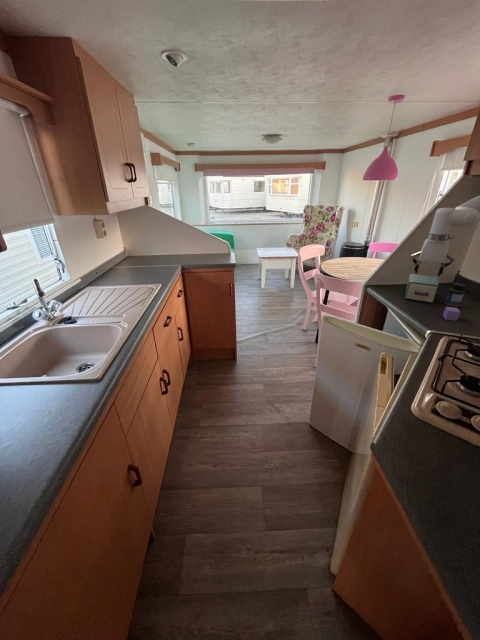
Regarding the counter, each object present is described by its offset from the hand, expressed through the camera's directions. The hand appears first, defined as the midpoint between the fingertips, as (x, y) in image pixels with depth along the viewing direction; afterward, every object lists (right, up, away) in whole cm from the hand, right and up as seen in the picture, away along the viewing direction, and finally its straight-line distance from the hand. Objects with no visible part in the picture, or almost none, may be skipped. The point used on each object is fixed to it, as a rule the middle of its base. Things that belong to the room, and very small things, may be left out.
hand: (427, 274), depth 128 cm
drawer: (+4, -10, +11) cm, 16 cm away
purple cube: (+4, -21, -9) cm, 24 cm away
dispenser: (+6, -9, +15) cm, 18 cm away
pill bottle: (+14, -15, +3) cm, 21 cm away
